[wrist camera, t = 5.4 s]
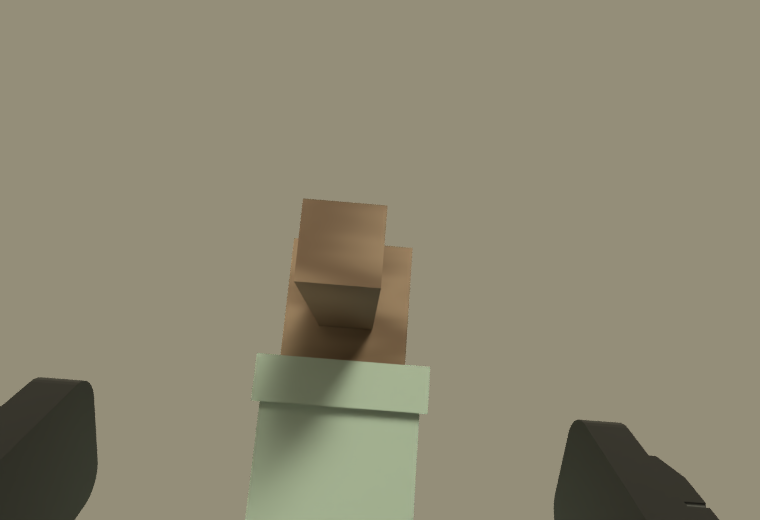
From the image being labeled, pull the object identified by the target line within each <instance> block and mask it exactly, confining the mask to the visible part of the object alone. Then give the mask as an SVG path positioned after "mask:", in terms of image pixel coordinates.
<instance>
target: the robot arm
mask: <svg viewBox="0 0 760 520" xmlns="http://www.w3.org/2000/svg"><path fill="white" fill-rule="evenodd" d="M97 465H98V462H97V444H96V426H95V408H94V394H93V389H92V386H91V385H90V383H89V382H87V381H80V380H68V379H55V378H36V379H33V380H32V381H31V382H29V383H28V384H27V385H26V386H25V387H24V388H22V389H21V390H20V391H19V392H18V393H16V394H15V395H14V396H13V397H12V398H11V399H10V400H8V401H7V402H6V403H5V404H3V405H2V406H0V520H75V518H76V517H77V516H78V514H79V513H80V511H81V509H82V508H83V507H84V505H85V504H86V502H87V501H88V499H89V497H90V494H91V492H92V489H93V486H94V483H95V479H96V474H97ZM705 504H706V503H705V502H704V500H703V499H702V498H701V497H700V496H699V495H698V493H697V492H696V491H695V489H694V488H693V487H692V486H691V485H690V483H689V482H688V481H687V480H686V479H685V478H684V477H683V476H682V475H680V474H679V473H678V472H676V471H675V470H674V469H672V468H671V467H670V466H668V465H667V464H666V463H664V462H663V461H662V460H660V459H659V458H658V457H656V456H649V455H648V454H647V453H646V452H645V450H644V449H643V448H642V446H641V445H640V444H639V442H638V441H637V440H636V439H635V437H634V436H633V434H632V433H631V432H630V431H629V429H628V428H627V427H626V426H625V425H624V424H622V423H615V422H601V421H587V420H576V421H574V422H573V424H572V425H571V428H570V430H569V434H568V438H567V443H566V447H565V452H564V456H563V461H562V465H561V470H560V475H559V479H558V484H557V488H556V493H555V499H554V520H719V519H718V518H717V516H716V515H715V514H714V513H713V512H712V510H711V509H710V508H706V505H705Z"/></svg>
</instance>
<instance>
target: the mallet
mask: <svg viewBox="0 0 760 520" xmlns="http://www.w3.org/2000/svg"><path fill="white" fill-rule="evenodd" d="M386 217H387V206H385V205H372V204H361V203H349V202H338V201H326V200H314V199H303V205H302V213H301V222H300V231H299V239H297V238H294V246H293V254H292V263H291V270H290V271H291V272H290V279H289V288H288V296H287V305H286V314H285V322H284V331H283V339H282V348H281V355H286V356H299V357H311V358H323V359H336V360H348V361H361V362H373V363H386V364H398V365H405V354H406V339H407V324H408V308H409V292H410V276H411V261H412V248H405V247H393V246H384V241H385V230H386Z"/></svg>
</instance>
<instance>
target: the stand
mask: <svg viewBox="0 0 760 520" xmlns="http://www.w3.org/2000/svg"><path fill="white" fill-rule="evenodd" d="M429 379H430V367H423V366H411V365H410V366H409V365H398V364H386V363H373V362H361V361H348V360H336V359H323V358H311V357H299V356H286V355H274V354H261V353H257V357H256V365H255V373H254V381H253V389H252V398H251V400H253V401H260V404H259V412H258V420H257V428H256V437H255V445H254V453H253V462H252V469H251V477H250V485H249V493H248V502H247V510H246V518H245V520H413V514H414V497H415V479H416V461H417V444H418V426H419V413H422V414H427V413H428V398H429Z"/></svg>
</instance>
